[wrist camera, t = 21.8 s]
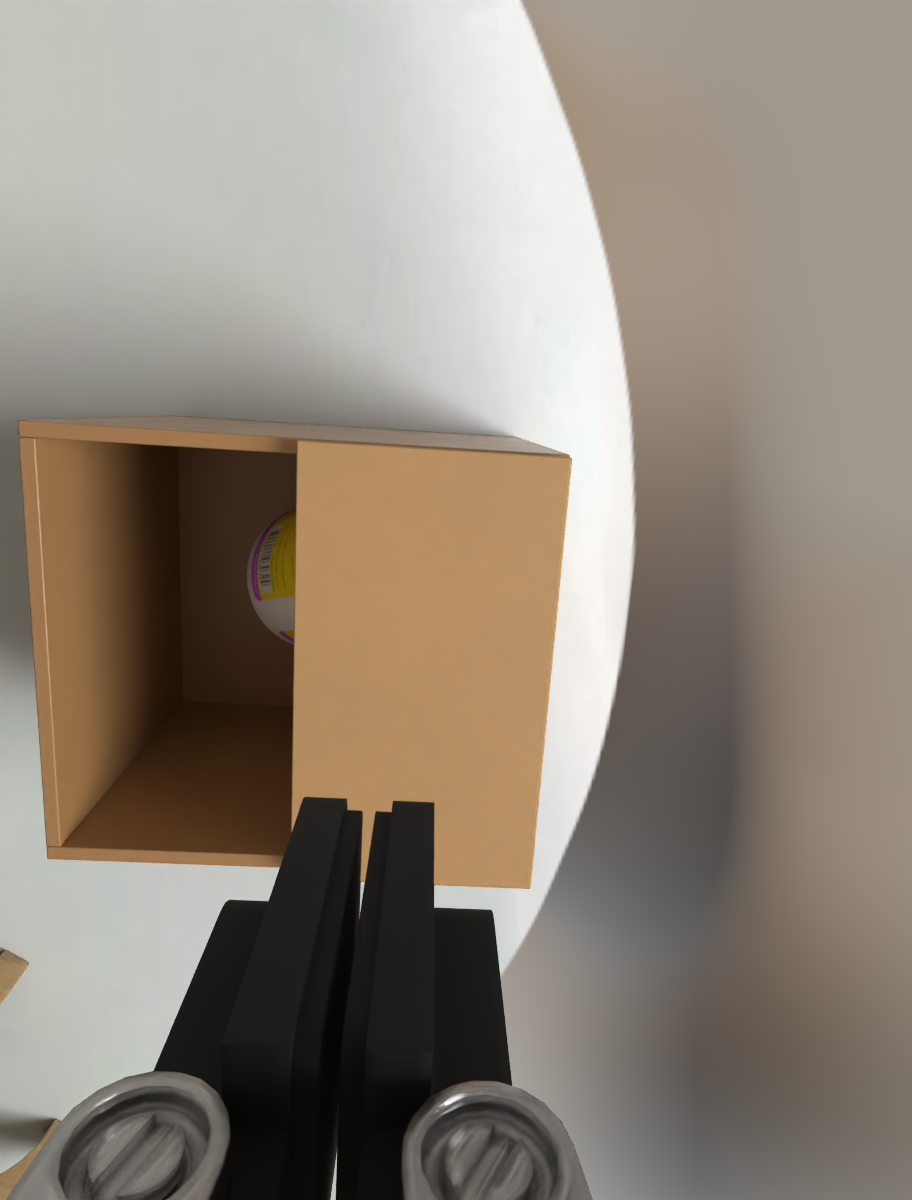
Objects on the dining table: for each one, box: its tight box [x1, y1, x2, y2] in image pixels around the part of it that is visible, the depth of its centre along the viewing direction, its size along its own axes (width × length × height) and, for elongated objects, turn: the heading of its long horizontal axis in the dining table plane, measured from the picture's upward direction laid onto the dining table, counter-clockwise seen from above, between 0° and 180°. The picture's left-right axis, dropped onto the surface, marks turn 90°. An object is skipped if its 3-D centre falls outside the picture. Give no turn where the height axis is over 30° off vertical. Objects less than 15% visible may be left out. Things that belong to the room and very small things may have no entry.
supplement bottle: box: [247, 509, 296, 645], centre depth 32 cm, size 7×7×13 cm
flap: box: [291, 440, 572, 889], centre depth 26 cm, size 8×15×1 cm, turn 176°
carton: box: [18, 415, 570, 867], centre depth 33 cm, size 17×15×14 cm
